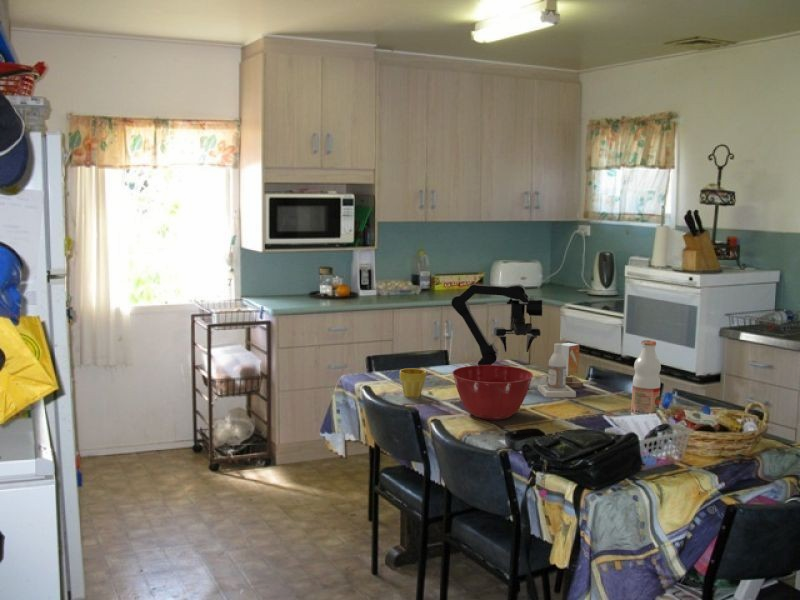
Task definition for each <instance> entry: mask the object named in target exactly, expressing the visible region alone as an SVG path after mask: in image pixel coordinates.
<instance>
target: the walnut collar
mask: <svg viewBox="0 0 800 600" xmlns="http://www.w3.org/2000/svg"><path fill="white" fill-rule="evenodd" d="M546 382H547V383H548V376H546ZM565 385H567V386H569V387H570V388H571V389H574V388H576V389H577V388H580V389H581V388H584V383H583V382H582V381H581V380H579V379H578V378H576V377H575V376H570V375H566V383H565Z"/></svg>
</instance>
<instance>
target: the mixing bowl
mask: <svg viewBox="0 0 800 600" xmlns="http://www.w3.org/2000/svg"><path fill="white" fill-rule="evenodd" d="M452 375H453V378H454V383H455V387H456V390H457V393H458V396H459V398H460V401H461V402H462V404H463V406H464V408H465V410H466V411H467V412H469V413H470V414H471V415H473V417H475V418H479V419H483V420H490V421H491V420H494V421H495V420H497V421H498V420H505V419H508V418H510V417H511V416H514V415H515V414H516V413H517V412H518V411H519V409H520V408H521V406H522V404H523V402H524V400H525V398H526V396H527V394H528V391H529V388H530V385H531V382H532V379H533V377H534V374H533V372H531V371H529V369H524V368H522V367H521V368H520V367H516V366H509V365H501V364H498V365H497V364H492V365H478V364H477V365H467V366H463V367H459V368H456V369H454V370H453V371H452Z"/></svg>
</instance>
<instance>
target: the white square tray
mask: <svg viewBox="0 0 800 600" xmlns="http://www.w3.org/2000/svg"><path fill="white" fill-rule="evenodd" d="M547 389H548V384H547V385H546V384H541V385H539V384H538V385H537V390H538V392H539V393H541V395H543V396H544V397H545V398H577V392H576V390H574V388H570V387H569V386H567V385H565V391H548V390H547Z"/></svg>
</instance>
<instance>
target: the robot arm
mask: <svg viewBox="0 0 800 600" xmlns="http://www.w3.org/2000/svg"><path fill="white" fill-rule="evenodd" d="M477 294H478V295H489V296H490V295H491V296H500V297H501V296H503V297H506V298H509V300H508V301H506V305H510V317H509V318H510V322H509V324H510V325H509V329H508V328H505V327H503V326H500V327H494V329H493V335H495V336H496V337H497V338H499V339H500V341H501V345H502V347H503V350H504V353H507V336H506V334H507V335H515V336H526V347H525V348H526V349H525V350H526V351H525V352H527V353H528V352H529V350H530V347H531V345H532V343H533V341H534V340H535V339H538V337H540V336H541V329H540V328H538V327H534V326H533V325H532V323H531V322H530V323H529V322H527V323H526V319H525V313H526V314H527V315H528V316H529V317H530V316H531V317H543V313H544V307H543V305H544V304H543V299H530V297H529V295H528V294H527V290H526V287H525V286H524V285H523V284H511V285H510V284H509V285H491V284H488V285H487V284H478V283H473V284H471V285H470V286H468V287H467V289H466V290H465V291H464V292H463V293H461V294H457V295H455V296H454V297H453V298H452V299H451V302H450V303H451V307H452V308H453V310H455V311H456V313H457V314H458V315H460V317H462V318H463V319H462V320H464V322H465V324H466V326H467V328H468V329H469V331H470V333H471V334H472V336H473V338H474V340H475V341H476V343H477V345H478V347H479V352H480V354H481V358H479V360H478V362H477V365H494V363H496V361H497V360H498V358H499V352H498V351H499V349H498V348H497V347H496V344H495V342H492V343H490V341H488V339H487V338H486V336H485V334H484V332H483V331H482V329H481V328H480V325H479V324H478V322H477V320H476V318H475V317H474V316H473V314H472V310H471V309H470V308H471V307H470V304H469V302H468V301H469V300H470V299H471V298H472V297H473V296H474V295H477Z"/></svg>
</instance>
